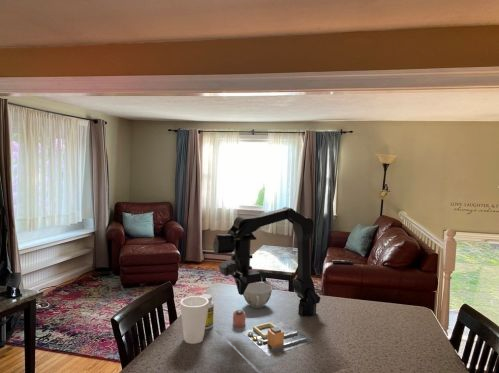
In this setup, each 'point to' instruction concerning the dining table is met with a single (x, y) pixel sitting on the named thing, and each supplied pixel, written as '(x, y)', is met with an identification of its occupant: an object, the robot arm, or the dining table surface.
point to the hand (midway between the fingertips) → (240, 294)
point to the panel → (290, 339)
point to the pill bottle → (209, 311)
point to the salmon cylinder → (239, 318)
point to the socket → (256, 328)
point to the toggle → (275, 337)
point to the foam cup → (194, 318)
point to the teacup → (257, 294)
